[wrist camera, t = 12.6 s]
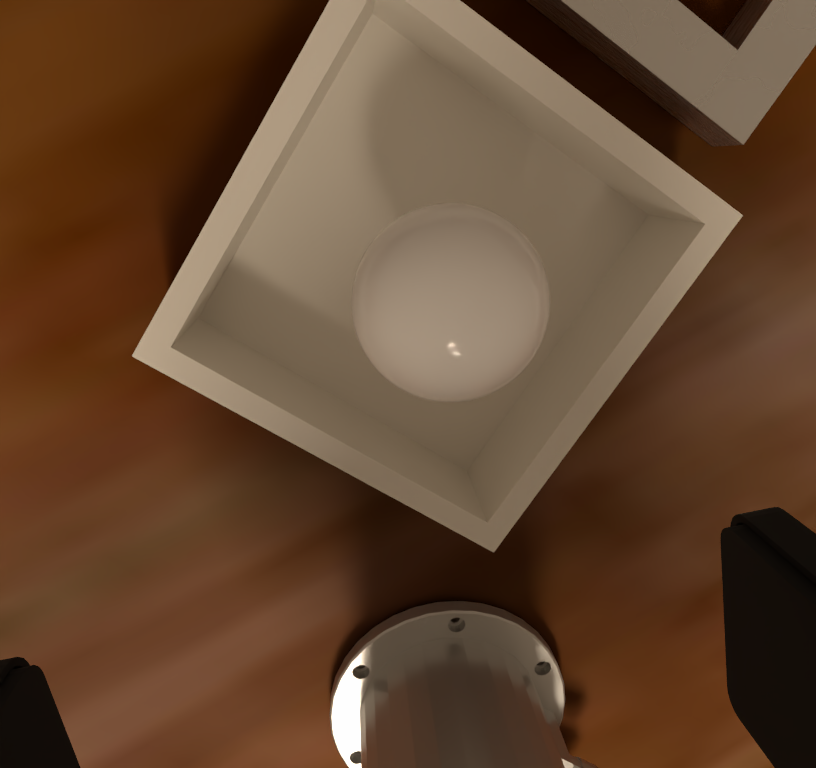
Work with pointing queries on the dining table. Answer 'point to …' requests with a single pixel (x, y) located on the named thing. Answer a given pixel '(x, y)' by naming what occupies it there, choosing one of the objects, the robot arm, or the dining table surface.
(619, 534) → the dining table surface
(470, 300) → the lightbulb
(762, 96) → the socket collar
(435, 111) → the bin
